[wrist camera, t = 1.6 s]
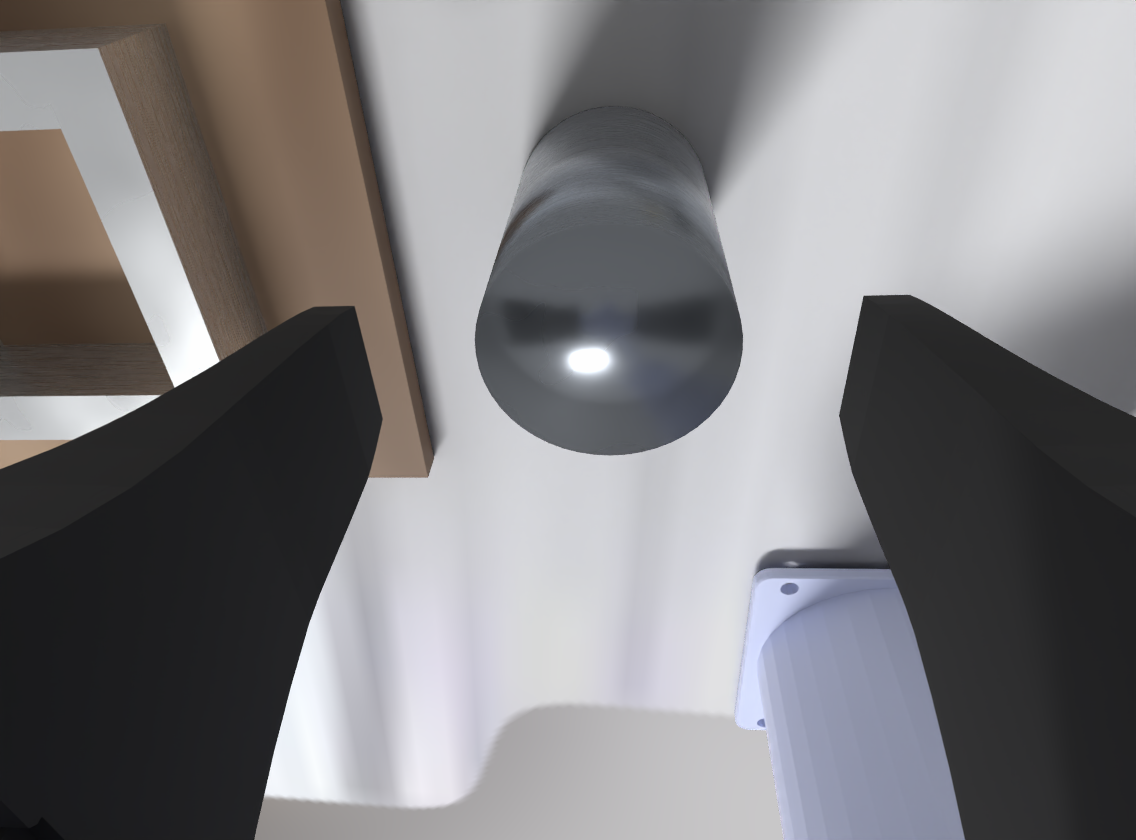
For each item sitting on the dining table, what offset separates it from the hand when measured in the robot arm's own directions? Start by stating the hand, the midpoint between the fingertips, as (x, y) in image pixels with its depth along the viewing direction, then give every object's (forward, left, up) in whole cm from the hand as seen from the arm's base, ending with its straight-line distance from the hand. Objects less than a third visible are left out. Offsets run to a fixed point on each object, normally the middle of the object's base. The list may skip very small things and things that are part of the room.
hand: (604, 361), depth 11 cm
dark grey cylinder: (0, 0, -6) cm, 6 cm away
